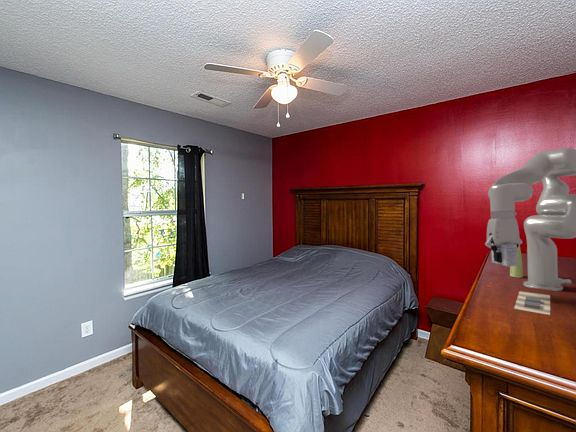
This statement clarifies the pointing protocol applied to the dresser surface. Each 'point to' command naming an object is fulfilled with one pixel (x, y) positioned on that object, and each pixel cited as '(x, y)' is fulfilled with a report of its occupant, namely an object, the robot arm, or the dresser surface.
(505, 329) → the dresser surface
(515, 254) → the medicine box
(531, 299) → the graphite tile
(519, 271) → the tube
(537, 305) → the graphite tile
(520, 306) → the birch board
